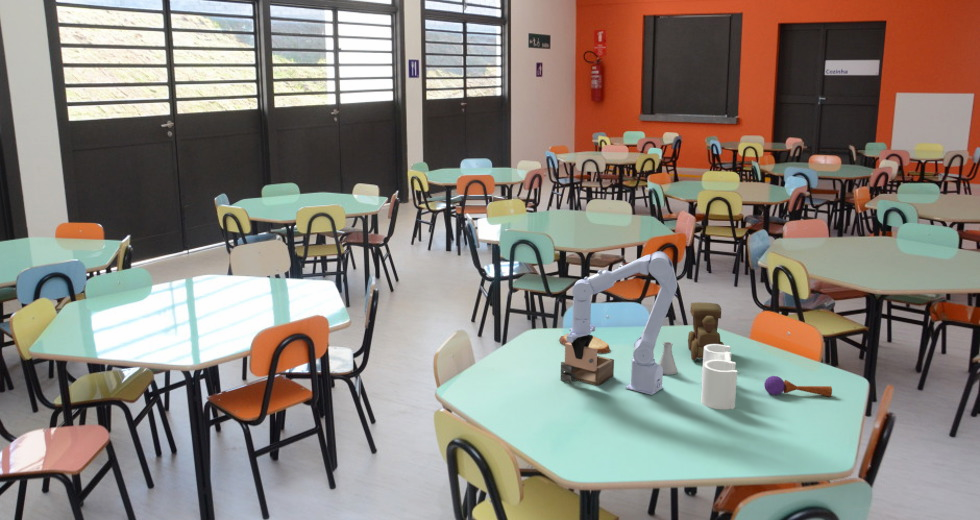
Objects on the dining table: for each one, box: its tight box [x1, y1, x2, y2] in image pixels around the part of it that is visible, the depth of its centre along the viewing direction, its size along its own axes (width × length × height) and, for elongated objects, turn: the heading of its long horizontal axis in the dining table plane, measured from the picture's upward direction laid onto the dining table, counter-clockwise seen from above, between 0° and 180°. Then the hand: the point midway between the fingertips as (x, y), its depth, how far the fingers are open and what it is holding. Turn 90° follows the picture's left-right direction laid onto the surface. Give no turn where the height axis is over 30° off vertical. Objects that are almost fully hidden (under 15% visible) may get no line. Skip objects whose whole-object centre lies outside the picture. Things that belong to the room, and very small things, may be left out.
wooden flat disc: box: [559, 333, 612, 354], centre depth 301 cm, size 18×18×4 cm
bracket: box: [700, 344, 738, 410], centre depth 256 cm, size 25×10×12 cm, turn 168°
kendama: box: [764, 375, 833, 398], centre depth 255 cm, size 6×6×20 cm
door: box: [564, 342, 598, 371], centre depth 263 cm, size 11×2×7 cm, turn 53°
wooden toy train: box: [687, 302, 725, 361], centre depth 289 cm, size 20×11×17 cm, turn 172°
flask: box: [657, 341, 678, 376], centre depth 274 cm, size 7×7×10 cm
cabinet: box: [560, 355, 615, 387], centre depth 269 cm, size 13×13×6 cm
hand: (580, 357), depth 263 cm, fingers closed on door, 2 cm apart
